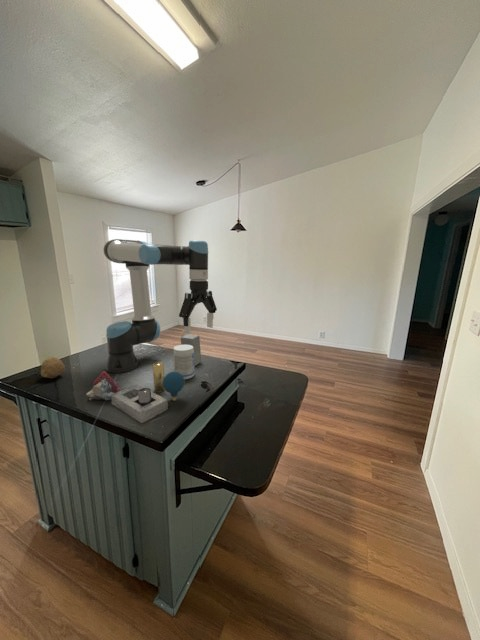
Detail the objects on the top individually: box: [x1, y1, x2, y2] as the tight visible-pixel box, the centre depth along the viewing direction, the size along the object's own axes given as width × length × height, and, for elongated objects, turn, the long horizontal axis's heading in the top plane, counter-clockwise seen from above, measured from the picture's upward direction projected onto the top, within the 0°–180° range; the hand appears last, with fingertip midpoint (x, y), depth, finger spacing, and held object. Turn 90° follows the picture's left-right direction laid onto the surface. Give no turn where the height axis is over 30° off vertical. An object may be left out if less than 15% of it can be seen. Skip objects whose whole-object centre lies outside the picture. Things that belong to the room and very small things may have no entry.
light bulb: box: [163, 371, 186, 401], centre depth 100 cm, size 8×8×12 cm
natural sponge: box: [40, 356, 66, 379], centre depth 118 cm, size 9×9×10 cm
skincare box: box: [180, 334, 202, 367], centre depth 137 cm, size 8×7×16 cm
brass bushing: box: [152, 361, 166, 393], centre depth 109 cm, size 4×4×12 cm
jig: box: [110, 384, 169, 424], centre depth 96 cm, size 20×11×8 cm, turn 54°
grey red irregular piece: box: [85, 370, 121, 401], centre depth 102 cm, size 11×11×12 cm
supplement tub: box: [173, 344, 195, 380], centre depth 122 cm, size 10×10×15 cm
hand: (199, 330), depth 108 cm, fingers open, 13 cm apart
